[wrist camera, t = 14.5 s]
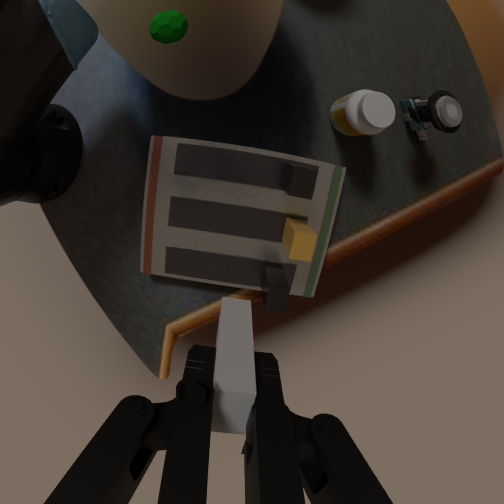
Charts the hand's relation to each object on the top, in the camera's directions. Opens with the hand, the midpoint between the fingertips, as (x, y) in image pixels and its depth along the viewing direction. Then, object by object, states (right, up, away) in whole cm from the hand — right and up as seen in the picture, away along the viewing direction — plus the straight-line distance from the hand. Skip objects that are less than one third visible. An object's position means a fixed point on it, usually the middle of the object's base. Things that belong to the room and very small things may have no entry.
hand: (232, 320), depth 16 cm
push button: (+24, +23, +19) cm, 38 cm away
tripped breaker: (+6, +6, +20) cm, 22 cm away
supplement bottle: (+14, +22, +19) cm, 32 cm away
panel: (-1, +9, +23) cm, 24 cm away
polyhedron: (-10, +33, +14) cm, 37 cm away
